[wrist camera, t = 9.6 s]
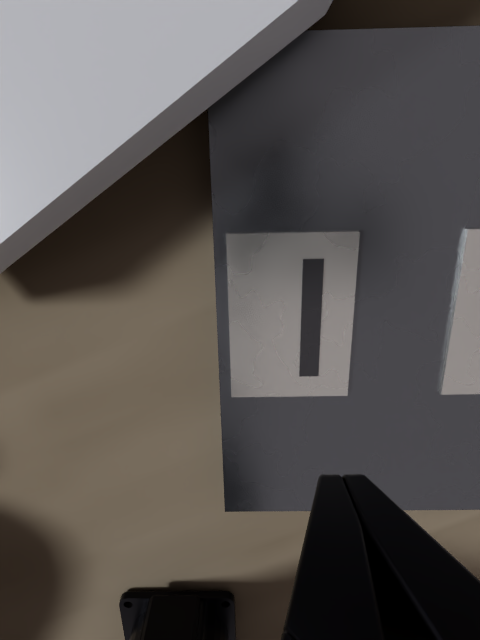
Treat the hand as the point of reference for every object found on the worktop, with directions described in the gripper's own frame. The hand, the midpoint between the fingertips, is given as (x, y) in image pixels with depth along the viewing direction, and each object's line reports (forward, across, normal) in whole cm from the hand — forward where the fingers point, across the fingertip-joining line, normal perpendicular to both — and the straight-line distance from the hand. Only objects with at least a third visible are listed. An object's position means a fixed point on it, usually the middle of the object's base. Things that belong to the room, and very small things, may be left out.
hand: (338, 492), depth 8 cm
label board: (+11, -5, -2) cm, 12 cm away
